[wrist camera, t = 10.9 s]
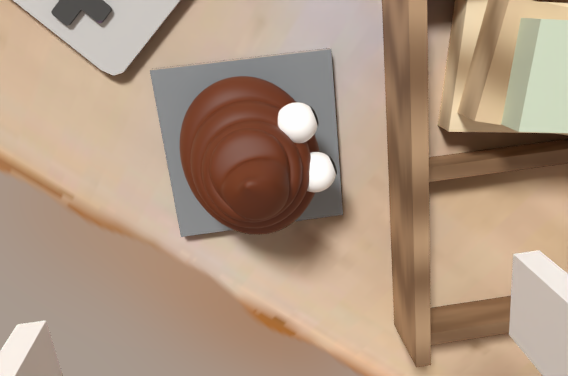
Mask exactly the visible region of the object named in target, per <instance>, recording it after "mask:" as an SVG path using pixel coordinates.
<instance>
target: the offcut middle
mask: <svg viewBox="0 0 568 376" xmlns="http://www.w3.org/2000/svg"><path fill="white" fill-rule="evenodd" d="M521 18H535V19H555V20H568V7H564V6H559V5H554V4H549V3H544V2H538V1H533V0H488V2H487V6H486V10H485V13H484V17H483V21H482V24H481V28H480V32H479V35H478V39H477V43H476V46H475V50H474V53H473V57H472V61H471V64H470V68H469V72H468V75H467V79H466V83H465V86H464V90H463V94H462V97H461V101H460V105H459V108H458V112H457V113H459V114H461V115H463V116H465V117H467V118H470V119H472V120H474V121H478V122H484V123H491V124H497V125H502V124H501V122H502V117H503V112H504V106H505V101H506V95H507V90H508V85H509V79H510V74H511V68H512V63H513V58H514V52H515V47H516V42H517V36H518V31H519V25H520V20H521ZM556 134H562V135H568V133H556Z"/></svg>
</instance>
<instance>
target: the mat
mask: <svg viewBox="0 0 568 376" xmlns="http://www.w3.org/2000/svg"><path fill="white" fill-rule="evenodd" d="M150 74H151V79H152V85H153V90H154V95H155V101H156V106H157V111H158V117H159V122H160V127H161V133H162V138H163V143H164V149H165V154H166V159H167V164H168V170H169V175H170V180H171V186H172V191H173V196H174V202H175V207H176V212H177V218H178V223H179V228H180V234H181V237H184V236H192V235H199V234H206V233H213V232H221V231H228V230H233V229H231V228H229V227H227V226H225V225H223V224H222V223H220V222H219V221H217V220H216V219H215V218H213V217H212V216H211V215H210V214H209V213H208V212H207V211H206V210H205V209H204V208H203V206H202V205H201V204H200V203H199V201H198V200H197V199H196V197H195V196H194V194H193V192H192V191H191V189H190V187H189V185H188V182H187V180H186V177H185V175H184V171H183V168H182V164H181V158H180V132H181V127H182V123H183V119H184V117H185V114H186V112H187V110H188V108H189V106H190V105H191V103H192V102H193V100H194V99H195V98H196V97H197V96H198V95H199V94H200V93H201V92H202V91H203V90H204V89H206V88H207V87H208V86H210V85H212V84H213V83H215V82H218V81H220V80H223V79H226V78H230V77H237V76H249V77H256V78H260V79H263V80H266V81H268V82H270V83H273V84H274V85H276V86H278V87H279V88H281V89H282V90H284V91H285V92H286V93H288V94H289V95H290V96H291V97H292V98H293V99H294V100H295V101H296V102H299V103H304V104H306V105H308V106H311V107H312V108H313V109H314V111H315V113H316V115H317V118H318V122H319V125H318V126H317V130H316V132H315V137H316V140H317V143H318V147H319V152H321V153H324V154H326V155H328V156H330V157H331V158H332V159H333V161H334V163H335V166H336V169H337V174H336V176H335V179H334V181H333V183H332V184H331V186H330V187H328V188H327V189H325V190H323V191H321V192H315V195H314V197H313V199H312V200H311V202H310V204H309V205H308V207H307V208H306V209H305V211H304V212H303V213H302V214H301V216H300V217H299V218H298V219H296V220H295V221H301V220H308V219H315V218H323V217H330V216H337V215H343V209H342V194H341V180H340V166H339V152H338V138H337V124H336V110H335V96H334V82H333V68H332V53H331V49H330V48H326V49H317V50H309V51H300V52H292V53H283V54H275V55H266V56H258V57H249V58H240V59H232V60H223V61H215V62H206V63H198V64H189V65H181V66H172V67H164V68H155V69H151V70H150Z"/></svg>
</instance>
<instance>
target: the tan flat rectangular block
mask: <svg viewBox="0 0 568 376" xmlns="http://www.w3.org/2000/svg"><path fill="white" fill-rule="evenodd" d="M487 2H488V0H455V4H454V11H453V19H452V26H451V33H450V41H449V48H448V55H447V62H446V70H445V77H444V84H443V92H442V99H441V106H440V114H439V121H438V126H440V127H441V128H443V129H445V130H447V131H448V132H505V133H538V132H517V131H515V130H513V129H511V128H509V127H506V126H504V125H497V124H491V123H484V122H478V121H474V120H472V119H470V118H467V117H465V116H463V115H461V114H459V113H457V112H458V108H459V105H460V101H461V97H462V94H463V90H464V86H465V83H466V79H467V75H468V72H469V68H470V64H471V61H472V57H473V53H474V50H475V46H476V43H477V39H478V35H479V32H480V28H481V24H482V21H483V17H484V13H485V10H486V6H487ZM544 3H549V4H554V5H559V6H564V7H568V3H555V2H544Z"/></svg>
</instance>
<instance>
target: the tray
mask: <svg viewBox="0 0 568 376" xmlns="http://www.w3.org/2000/svg"><path fill="white" fill-rule="evenodd" d="M382 11H383V38H384V64H385V91H386V117H387V144H388V170H389V197H390V223H391V250H392V276H393V303H394V325H395V327H396V329H397V331H398V333H399V335H400V337H401V338H402V340H403V342H404V344H405V346H406V348H407V350H408V352H409V354H410V356H411V358H412V360H413V361H414V363H415V365H416V367H421V366H427V365H431V345H435V344H442V343H448V342H455V341H461V340H468V339H474V338H481V337H487V336H494V335H500V334H506V333H509V324H510V306H511V296H507V297H500V298H494V299H487V300H481V301H474V302H467V303H461V304H454V305H447V306H441V307H434V308H430V232H429V182H433V181H440V180H447V179H455V178H462V177H470V176H477V175H484V174H492V173H499V172H507V171H514V170H522V169H529V168H536V167H544V166H551V165H559V164H566V163H568V139H565V140H557V141H550V142H542V143H534V144H527V145H519V146H512V147H504V148H497V149H489V150H481V151H474V152H466V153H459V154H451V155H444V156H436V157H429V135H428V37H427V0H382Z"/></svg>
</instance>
